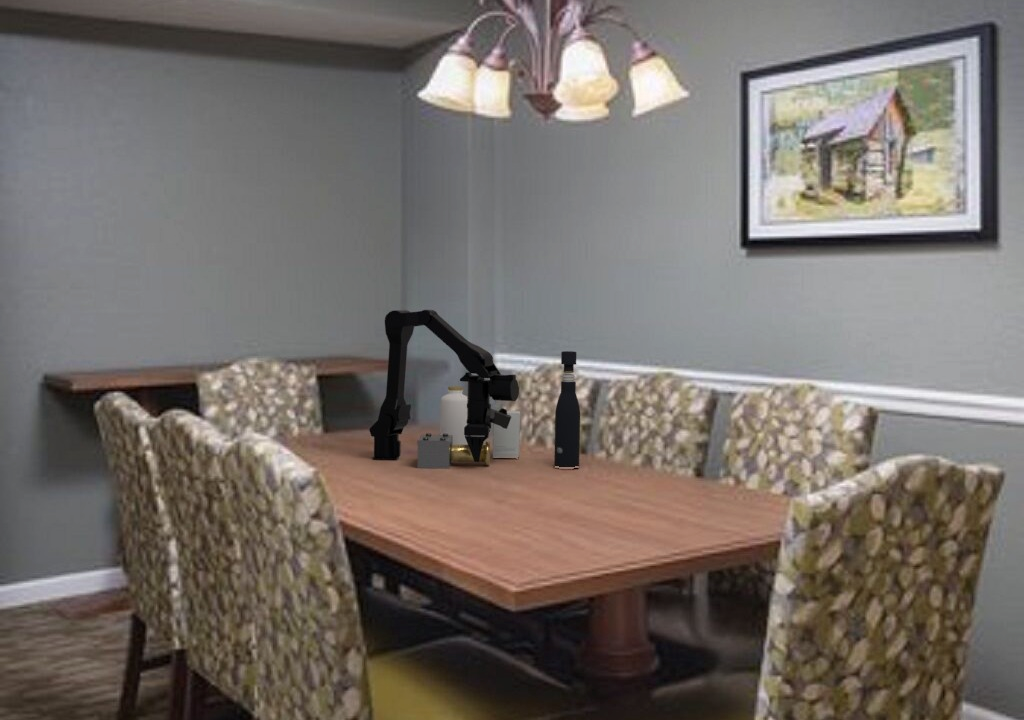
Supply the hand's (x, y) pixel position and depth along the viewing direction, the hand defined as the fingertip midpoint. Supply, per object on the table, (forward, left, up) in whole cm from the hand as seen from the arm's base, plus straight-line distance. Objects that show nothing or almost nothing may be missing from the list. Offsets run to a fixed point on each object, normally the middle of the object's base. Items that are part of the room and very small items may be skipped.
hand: (477, 459), depth 293 cm
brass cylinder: (-5, 0, -1) cm, 5 cm away
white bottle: (-8, +29, -2) cm, 30 cm away
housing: (-11, 0, -2) cm, 11 cm away
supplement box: (+7, +16, -2) cm, 18 cm away
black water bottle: (+23, -1, -2) cm, 23 cm away
